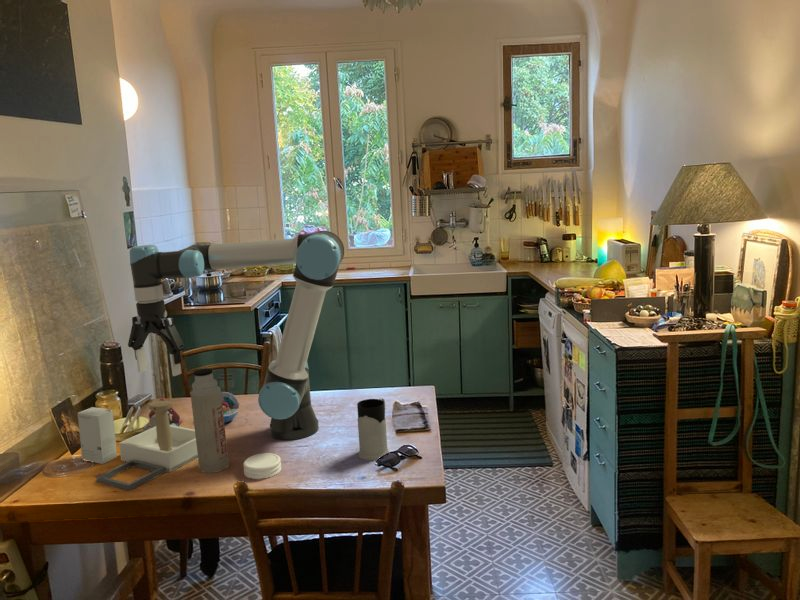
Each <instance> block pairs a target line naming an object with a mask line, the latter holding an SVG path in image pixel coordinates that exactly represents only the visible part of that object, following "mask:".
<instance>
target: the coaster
mask: <svg viewBox="0 0 800 600" xmlns="http://www.w3.org/2000/svg"><path fill="white" fill-rule="evenodd" d="M281 461H282V458H281V457H280V456H279V455H278V454H276V453H271V452H266V453H264V452H263V453H258V454H254V455H251V456H249V457H248V458H246V459H245V460H244V461H243V474H244V477H246V478H248V479H250V478H252V479H251V480H262V479H261V478H266V479H269V478H268V477H270V478H272V476H273V477H275V476H277V475H278V474H279V473H280V472H281V471H282V462H281ZM276 474H277V475H276ZM274 475H275V476H274Z"/></svg>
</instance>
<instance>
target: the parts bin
mask: <svg viewBox="0 0 800 600" xmlns="http://www.w3.org/2000/svg"><path fill="white" fill-rule="evenodd" d="M170 430H171V437H172V446H171V447H172V450H171V451H169V452H168V451H163V450H160V448H159V444H158V440H157V430H156V426H155V427H153V428H151V429H149V430H144V431H142V432H140V433H138V434H136V435H133V436H131V437H129V438H127V439H124V440H122V441H119V442H118V445H119V446H118V447H119V453H120V460H122V462H125V461H126V462H128V461H130V460H137V461H141V462H145V463H150V464H154V465H158V466H163V467H165V472H167V471H169V472H168V473H171V471H172V472H174V471H175V469H176V470H177V469H179V468H181V467H183V466H185V465H187V464H189V463H191V462H192V461H194V460H196V459H198V453H197V444H196V436H195V428H188V427H183V426H179V427H178V426H173V425H170ZM190 461H191V462H190ZM126 462H125V463H126ZM188 462H189V463H188ZM186 463H187V464H186ZM184 464H185V465H184ZM182 465H183V466H182ZM180 466H181V467H180ZM178 467H179V468H178ZM173 470H174V471H173Z"/></svg>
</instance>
